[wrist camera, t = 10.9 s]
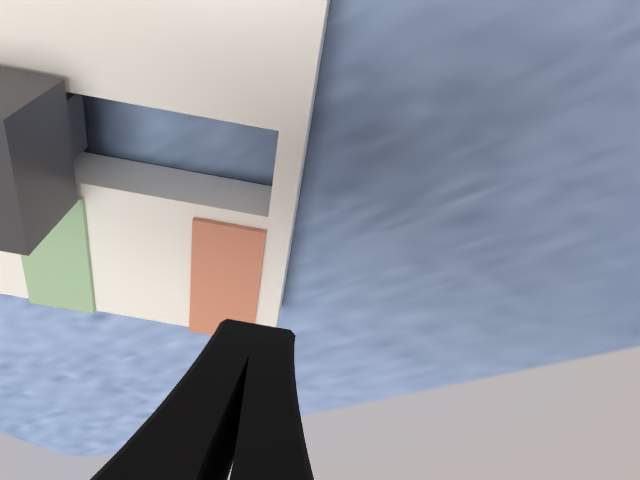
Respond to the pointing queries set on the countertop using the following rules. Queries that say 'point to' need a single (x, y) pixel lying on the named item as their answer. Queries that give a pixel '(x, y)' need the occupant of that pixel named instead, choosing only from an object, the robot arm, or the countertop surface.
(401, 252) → the countertop surface
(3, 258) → the switch board
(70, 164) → the switch handle
